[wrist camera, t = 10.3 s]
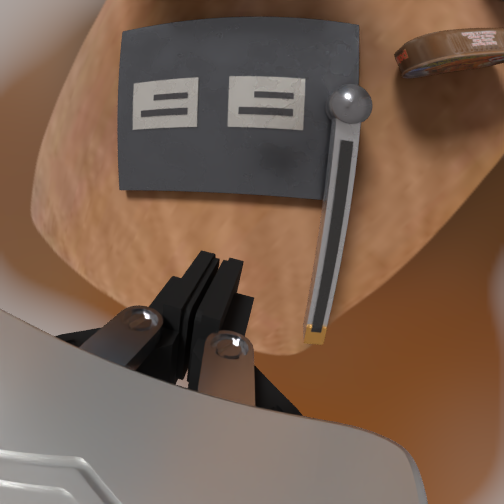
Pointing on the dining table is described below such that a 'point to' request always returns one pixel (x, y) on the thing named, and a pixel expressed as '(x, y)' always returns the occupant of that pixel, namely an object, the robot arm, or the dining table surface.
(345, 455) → the robot arm
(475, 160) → the dining table surface
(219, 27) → the panel
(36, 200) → the dining table surface
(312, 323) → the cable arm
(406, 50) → the tin
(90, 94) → the dining table surface
